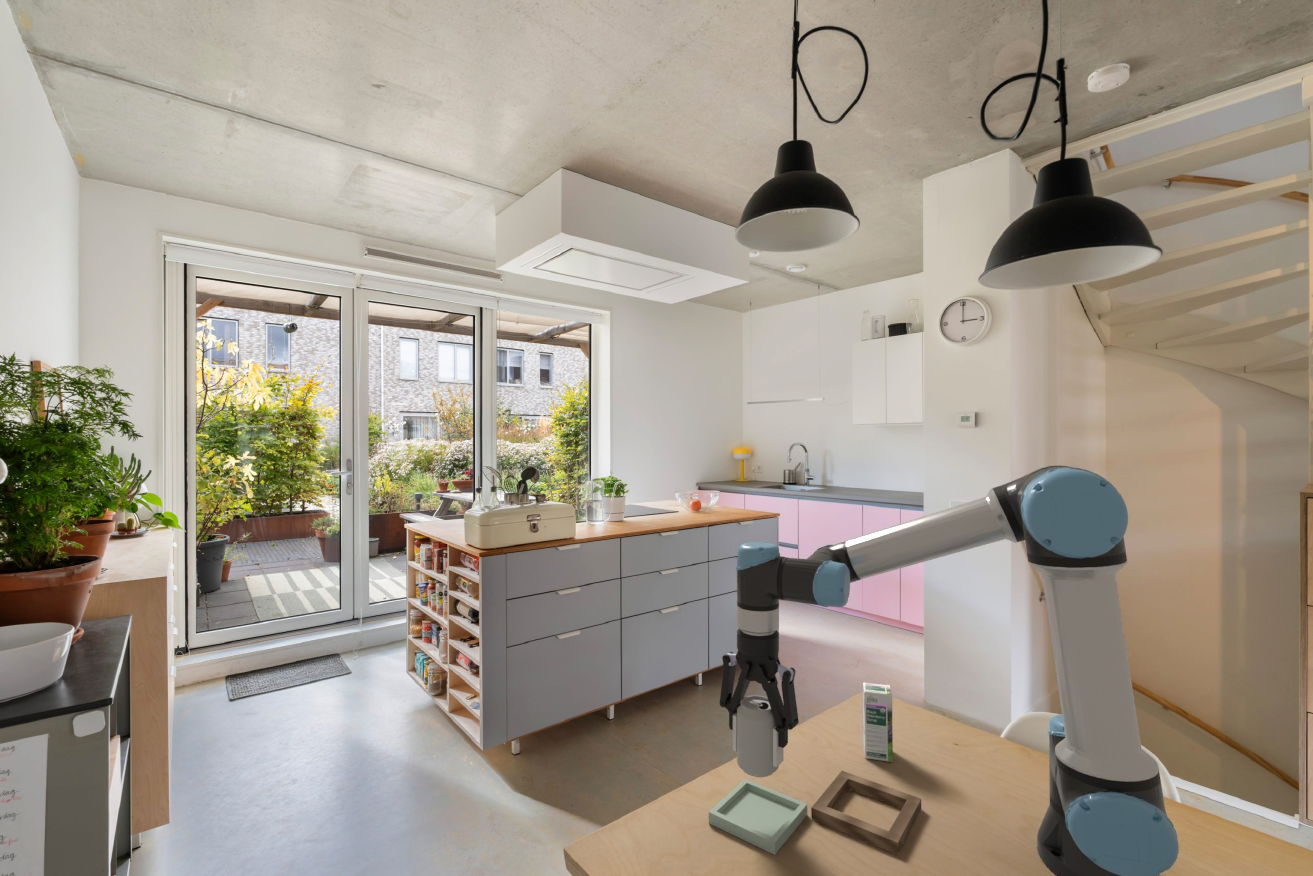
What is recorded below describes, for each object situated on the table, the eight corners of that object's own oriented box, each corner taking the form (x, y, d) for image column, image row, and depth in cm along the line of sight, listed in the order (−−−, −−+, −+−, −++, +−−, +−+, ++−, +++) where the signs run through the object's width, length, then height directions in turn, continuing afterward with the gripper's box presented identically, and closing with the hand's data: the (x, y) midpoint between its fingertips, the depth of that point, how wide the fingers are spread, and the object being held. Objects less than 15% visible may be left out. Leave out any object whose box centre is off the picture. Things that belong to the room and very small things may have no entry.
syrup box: (864, 759, 125) (864, 691, 125) (863, 745, 131) (862, 680, 131) (892, 763, 123) (892, 694, 123) (890, 749, 129) (890, 683, 129)
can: (779, 782, 101) (779, 713, 101) (735, 777, 102) (735, 709, 102) (778, 759, 108) (778, 694, 108) (738, 754, 110) (738, 691, 110)
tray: (807, 815, 106) (807, 804, 106) (774, 855, 96) (774, 842, 96) (744, 789, 114) (744, 778, 114) (708, 823, 104) (708, 812, 104)
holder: (921, 809, 108) (921, 798, 108) (897, 855, 96) (897, 842, 96) (841, 780, 117) (841, 770, 117) (811, 818, 105) (811, 807, 105)
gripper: (819, 635, 102) (819, 765, 102) (721, 613, 115) (720, 730, 115) (801, 647, 96) (801, 785, 96) (699, 623, 109) (699, 745, 109)
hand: (757, 755), depth 105 cm, fingers closed on can, 7 cm apart
